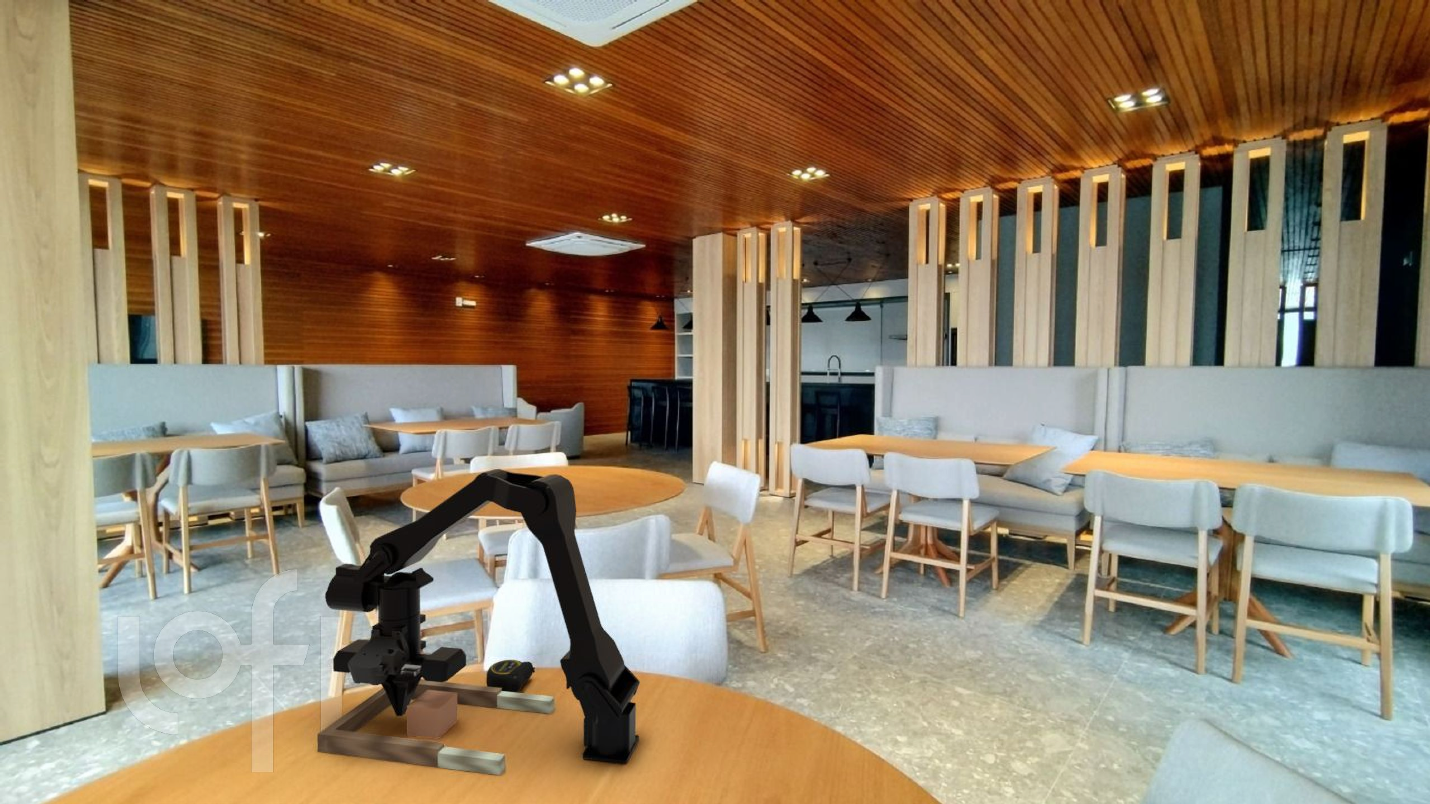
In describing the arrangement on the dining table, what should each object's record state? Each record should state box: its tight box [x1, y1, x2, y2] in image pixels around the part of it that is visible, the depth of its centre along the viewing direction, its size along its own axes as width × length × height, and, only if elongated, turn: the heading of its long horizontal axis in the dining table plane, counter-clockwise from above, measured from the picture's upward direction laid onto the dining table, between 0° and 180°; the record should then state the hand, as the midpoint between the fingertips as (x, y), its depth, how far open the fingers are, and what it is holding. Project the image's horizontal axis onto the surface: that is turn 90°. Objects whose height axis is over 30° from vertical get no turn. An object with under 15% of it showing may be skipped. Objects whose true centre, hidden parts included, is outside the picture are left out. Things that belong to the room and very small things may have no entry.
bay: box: [316, 678, 555, 776], centre depth 99 cm, size 28×18×2 cm, turn 80°
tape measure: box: [485, 659, 536, 693], centre depth 112 cm, size 7×7×4 cm
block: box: [406, 690, 458, 740], centre depth 99 cm, size 5×5×4 cm
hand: (400, 715), depth 100 cm, fingers closed
